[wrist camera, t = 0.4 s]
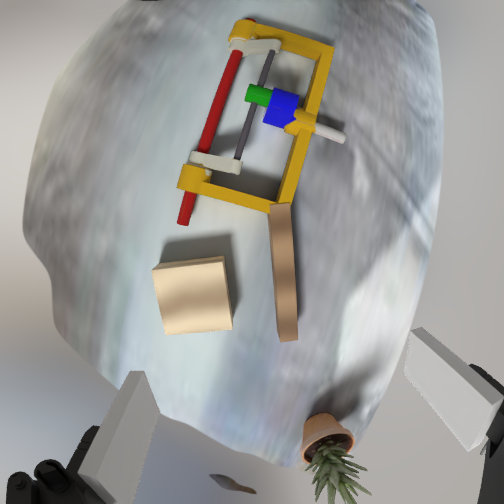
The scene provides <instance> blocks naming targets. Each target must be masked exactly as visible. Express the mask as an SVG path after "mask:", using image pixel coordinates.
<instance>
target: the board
mask: <svg viewBox="0 0 504 504" xmlns="http://www.w3.org/2000/svg"><path fill="white" fill-rule="evenodd" d="M268 224H269V235H270V246H271V258H272V270H273V282H274V295H275V308H276V321H277V332H278V335H279V339H280V342H286V341H294V340H298V325H297V302H296V283H295V266H294V251H293V237H292V224H291V212H290V203H285V204H274V205H270V214H268Z"/></svg>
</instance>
